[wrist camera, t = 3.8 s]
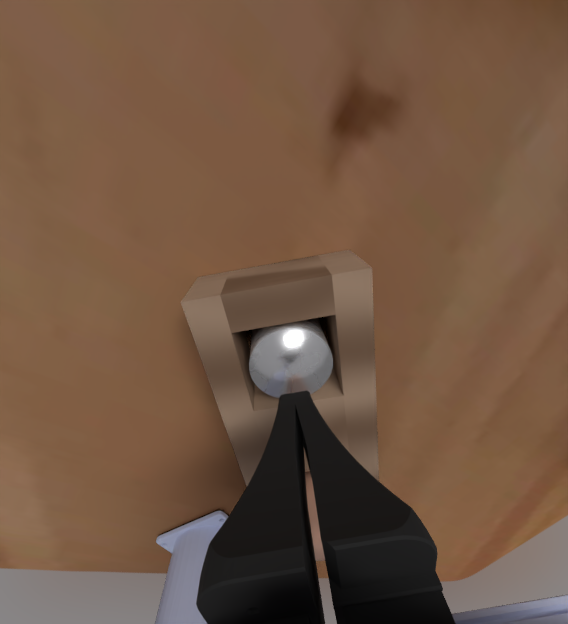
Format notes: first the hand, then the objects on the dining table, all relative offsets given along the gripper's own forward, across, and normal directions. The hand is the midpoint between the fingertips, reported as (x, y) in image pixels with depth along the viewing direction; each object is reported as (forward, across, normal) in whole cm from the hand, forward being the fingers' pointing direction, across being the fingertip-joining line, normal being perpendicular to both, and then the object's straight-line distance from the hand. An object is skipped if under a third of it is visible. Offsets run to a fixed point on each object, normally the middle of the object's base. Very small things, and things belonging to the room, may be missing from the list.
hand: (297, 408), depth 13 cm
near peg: (+7, 0, 0) cm, 7 cm away
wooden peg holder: (+7, 0, +6) cm, 9 cm away
